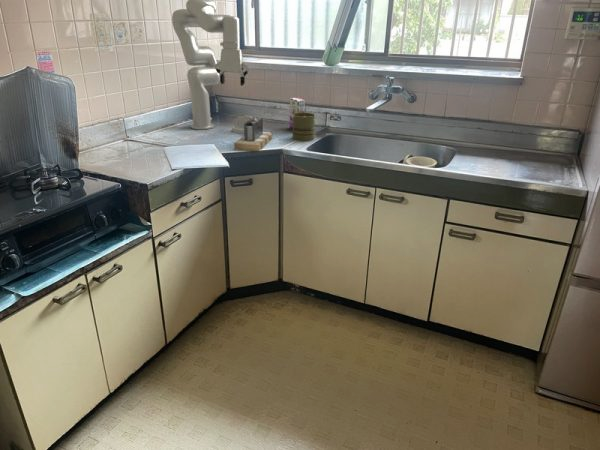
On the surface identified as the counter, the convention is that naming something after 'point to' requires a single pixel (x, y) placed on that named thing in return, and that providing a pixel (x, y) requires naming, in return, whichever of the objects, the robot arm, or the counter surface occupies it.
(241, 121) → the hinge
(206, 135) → the counter surface
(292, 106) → the candy bar box
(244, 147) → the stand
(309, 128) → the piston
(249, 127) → the housing
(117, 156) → the counter surface
